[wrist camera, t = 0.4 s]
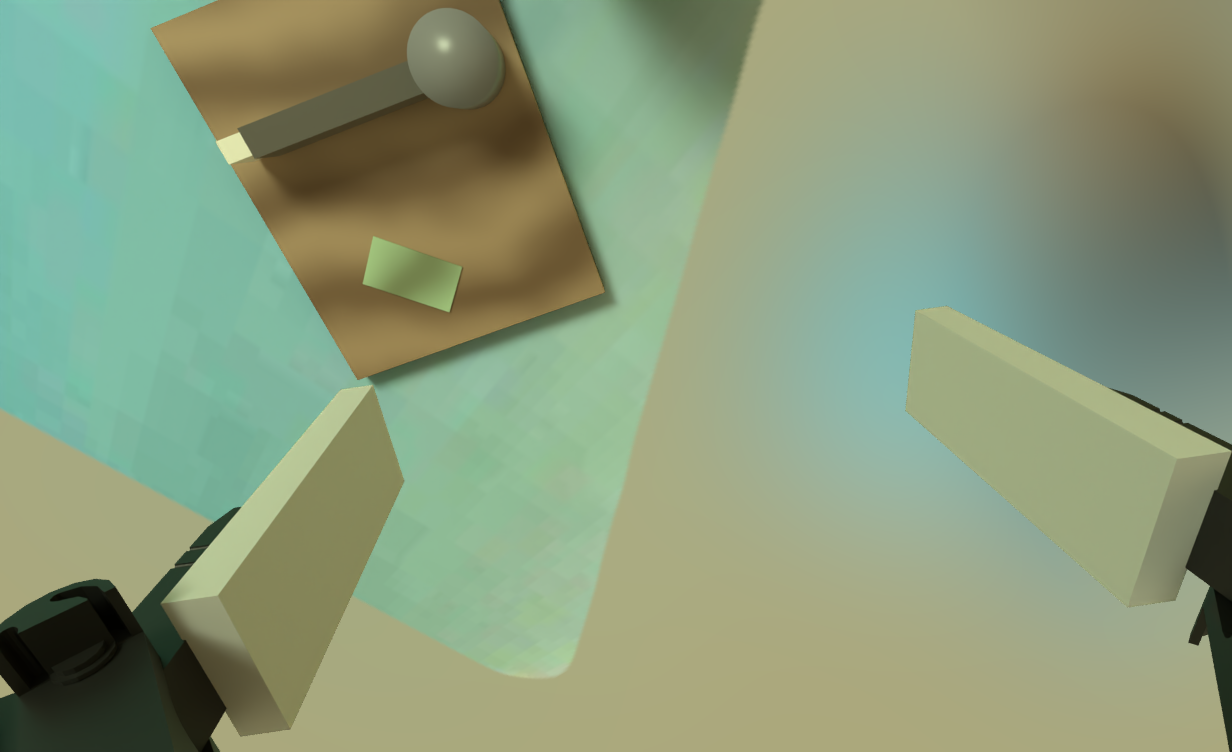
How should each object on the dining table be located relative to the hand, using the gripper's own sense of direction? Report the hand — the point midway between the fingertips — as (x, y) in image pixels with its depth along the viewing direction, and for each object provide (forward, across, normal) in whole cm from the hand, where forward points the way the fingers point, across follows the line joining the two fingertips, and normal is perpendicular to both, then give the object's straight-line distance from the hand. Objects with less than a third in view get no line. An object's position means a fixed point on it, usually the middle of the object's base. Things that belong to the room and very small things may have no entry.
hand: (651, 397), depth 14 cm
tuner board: (+26, -12, +4) cm, 29 cm away
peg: (+25, -12, +8) cm, 29 cm away
